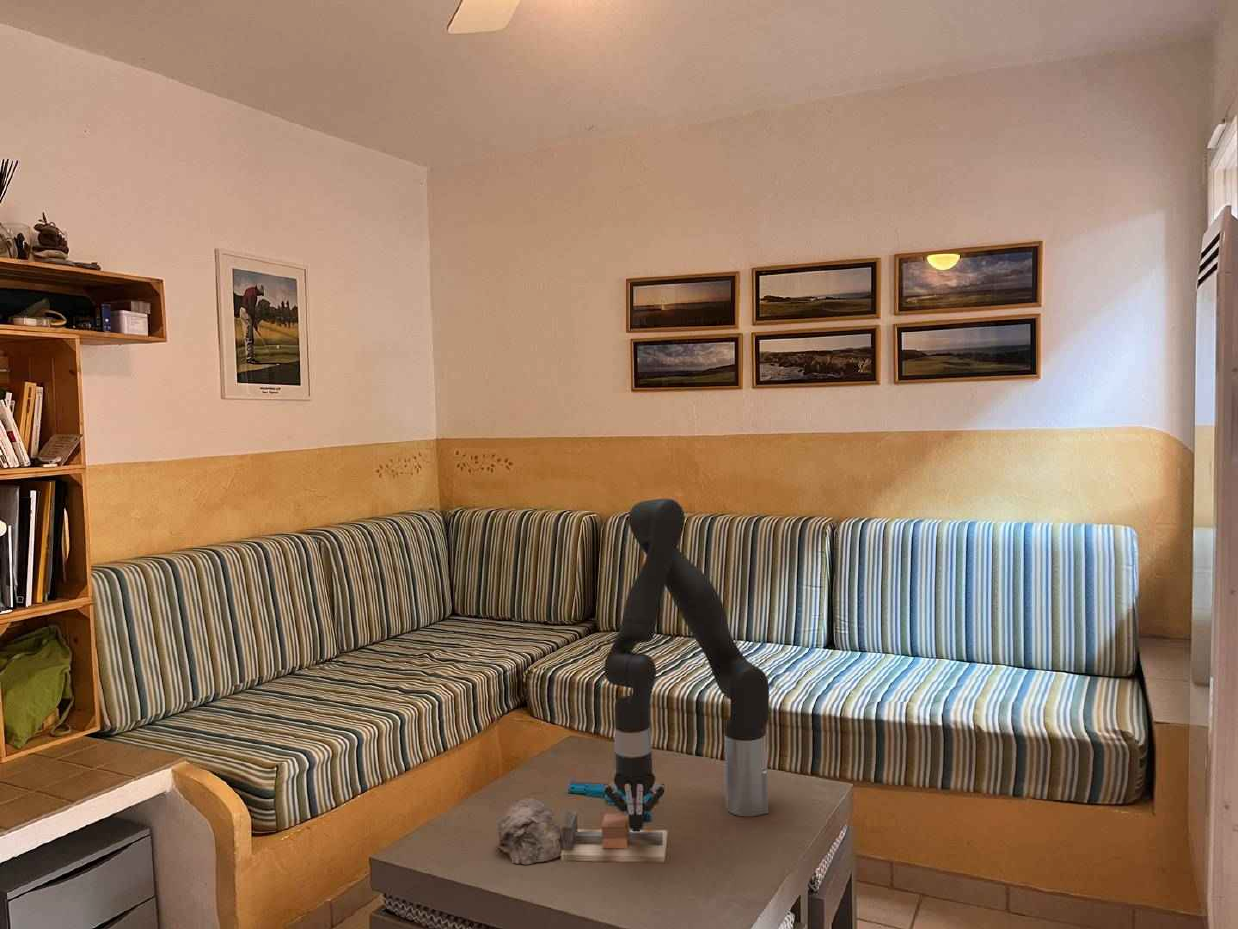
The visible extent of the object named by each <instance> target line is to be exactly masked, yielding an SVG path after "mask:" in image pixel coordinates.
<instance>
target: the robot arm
mask: <svg viewBox="0 0 1238 929" xmlns="http://www.w3.org/2000/svg"><path fill="white" fill-rule="evenodd" d="M628 524H629V529H630V532H631V533H632V535H633V537H634V539H635V540H636V542H637V543H638V545H639V546H640V548H641V549H642V550H643V552H644V553H645V554H646V557H645V560H644V563H643V564H642V567H641V569H640V571H639V572H638V575H637V577H636V578H635V579H634V582H633V583H632V585H631V587H630V590H629V591H628V594H627V596H626V600H625V602H624V603H625V604H624V609H623V613H622V620H621V624H620V628H619V630H618V633H617V634H616V636H615V639H614V640H613V643H612V646H611V647H610V649H609V651H608V653H607V656H606V658H605V660H604V661H605V662H604V665H603V666H604V667H603V668H604V670H603V671H604V675H605V679H606V681H608V683H609V684H611V685H613V686H618V687H624V688H629V689H630V688H631V689H632V694H631V695H625V696H620V697H619V698H618V699H616V701H615V703H614V728H615V730H614V744H613V745H614V746H613V748H614V758H615V759H614V760H615V761H614V762H615V774H614V778H613V781H611V782H609V783H606V787H605V793H606V795H607V796H608V797H609V798H608V799H611V800H612V802H613V803H614V804H613V805H615V806H616V808H617V809H618V811H620V812H621V813H624V811H625V812H627V813H628V814H629V827H630V830H633V832H640V830H643V827H644V822H643V813H644V812H649V811H650V812H651V811H652V809H653V808H654V807H655V805H656V804H657V803H658V802H659V801H660V799H661V797H662V796H663V795H664V794H665V791H666V785H665V784H664V783H660V782H658V781H657V780H656V776H655V774H654V772H653V753H652V752H653V750H652V734H651V728H650V703H651V698H652V693H653V688H654V684H655V680H656V676H657V668H656V664H655V662H654V660H653V658H652V657H651V656H649V655H648V654H644V653H639V652H633V650H634V648H635V647H636V646H637V645H638V644H643V643H648V642H651V641H652V640H653V638H654V635H655V633H656V632H655V631H656V627H657V621H658V614H659V610H660V605H661V600H662V596H663V592H664V587H665V588H666V589H667V592H668V593H669V595H670V596H671V598H672V600H673V603H674V605H675V606H676V608H677V610H678V612H679V614H680V616H681V617H682V619H683V621H684V623H685V625H686V626H687V627H688V629H689V631H690V633H691V636H693V638H694V640H695V641H696V642H697V644H698V645H699V647H700V650H702V652H703V654H704V655H705V658H706V660H707V662H708V663H707V664H708V665H709V667H710V669H711V673H712V674H713V677H714V680H715V682H716V685H717V687H718V688H719V690H720V692H721V694H723V696H725V697H726V698H727V699H729V703H730V704H729V711H730V713H729V716H728V717H726V719H725V720H724V721H723V740H724V741H723V742H724V743H723V744H724V746H723V747H724V771H725V772H724V774H725V779H724V780H725V802H726V803H725V804H726V806H725V807H726V810H727V812H729V813H730V814H733V815H734V816H735V815H736V816H739V817H747V818H749V817H757V816H760V815H761V816H762V815H764V814H765V815H768V814H769V789H768V786H769V785H768V768H767V741H766V739H767V738H766V736H767V735H766V733H767V732H766V731H767V730H766V729H767V728H766V727H767V724H768V722H769V718H770V717H769V716H770V687H769V681H768V676H767V675H766V673H765V672H764V671H763V670H762V669H761V668H759V667H757V665H754V664H753V663H752V662H750V661H748V660H747V659H746V657H745V656H744V655H743V654H742V652H741V650H740V649H739V647H738V645H737V644H736V642H735V640H734V639H733V637H732V635H731V632H730V628H729V623H728V617H727V616H728V615H727V612H726V608H725V606H724V604H723V602H722V600H721V598H720V596H719V594H718V592H717V590H716V588H715V586H714V585H713V583H712V581H711V580H710V578H708V577H707V575H706V574H705V573H704V572H702V571H701V569H700V568H698V566H696V565H695V564H694V563H693V562H692V561H690V560H689V558H687V557H686V556H685V555H684V554H683V553H682V551H681V550H680V549H679V548H678V546H679V544H680V541H681V538H682V534H683V532H684V527H685V512H684V510H683V507H682V506H681V505H680V503H679V502H678V501H676V500H674V499H672V498H657V499H650V500H644V501H643V500H642V501H640V502H637V503H635V504H634V505H633V506H632V508H631V509H630V511H629V516H628ZM616 786H617V787H618V789H619V790H620V791H621V792H622V794H623V795H624V796H626V801H627V803H626V802H625V801H624V799H623V798H622V797H621V796H620V795H619V794H618V792H617V787H616ZM652 787H653V788H652ZM650 789H651V790H652V791H653V794H652V795H651V797H650V798H649V799H648V801H647V802H646V803H644V804H643V798H644V796H646V795H647V793H648V792H649V790H650ZM634 797H636V798H637V808H636V810H635V802H634ZM658 800H659V801H658ZM657 801H658V802H657Z"/></svg>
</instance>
